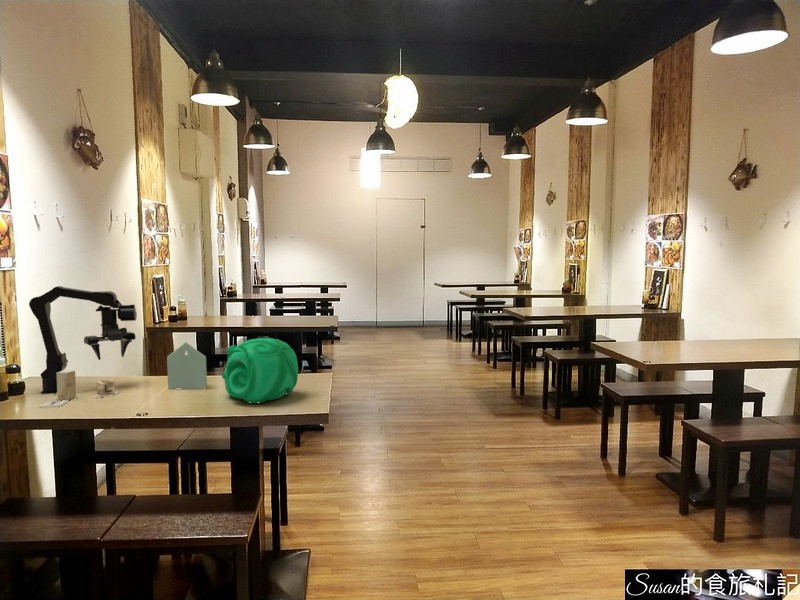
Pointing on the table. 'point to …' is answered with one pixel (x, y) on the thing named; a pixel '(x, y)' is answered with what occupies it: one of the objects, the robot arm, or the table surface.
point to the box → (66, 385)
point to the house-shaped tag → (186, 368)
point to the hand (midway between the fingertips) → (111, 358)
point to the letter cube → (105, 387)
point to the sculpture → (260, 370)
